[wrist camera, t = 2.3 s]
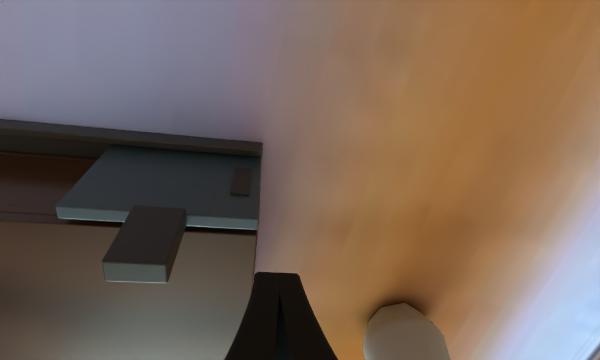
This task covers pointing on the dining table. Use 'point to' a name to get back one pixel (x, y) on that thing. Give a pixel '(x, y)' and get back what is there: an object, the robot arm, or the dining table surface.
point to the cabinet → (91, 250)
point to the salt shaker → (403, 336)
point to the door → (162, 203)
